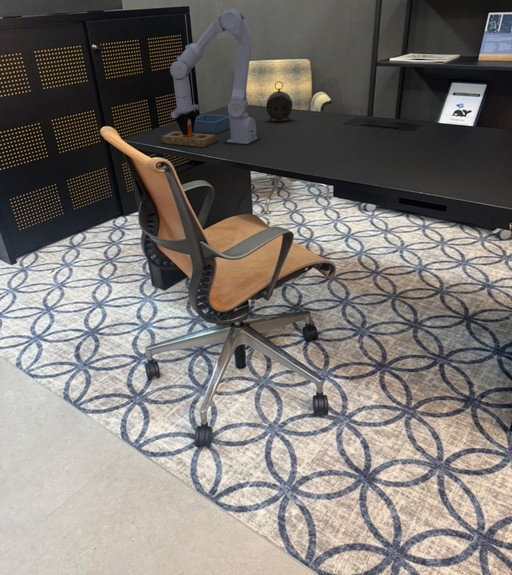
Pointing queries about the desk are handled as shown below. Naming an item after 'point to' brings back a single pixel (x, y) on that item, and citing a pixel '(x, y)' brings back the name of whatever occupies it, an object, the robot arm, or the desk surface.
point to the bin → (211, 123)
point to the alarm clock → (279, 105)
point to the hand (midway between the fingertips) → (188, 133)
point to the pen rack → (189, 139)
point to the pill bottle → (189, 129)
